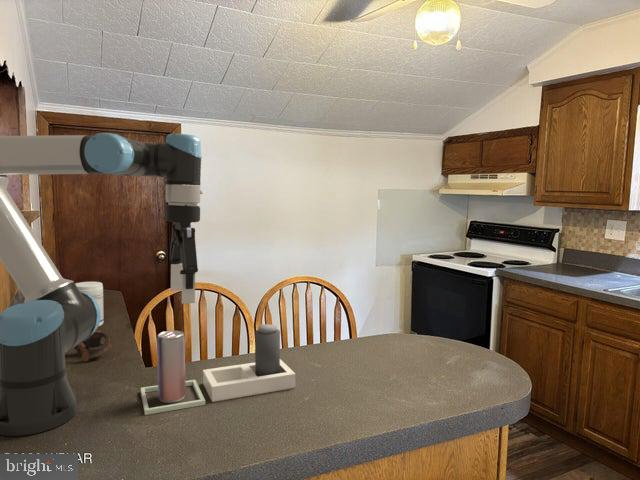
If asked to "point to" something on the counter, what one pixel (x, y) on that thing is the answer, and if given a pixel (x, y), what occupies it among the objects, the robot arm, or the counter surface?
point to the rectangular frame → (172, 406)
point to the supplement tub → (93, 294)
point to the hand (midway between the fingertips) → (182, 296)
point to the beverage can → (171, 366)
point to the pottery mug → (93, 346)
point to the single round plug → (267, 350)
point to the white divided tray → (245, 381)
